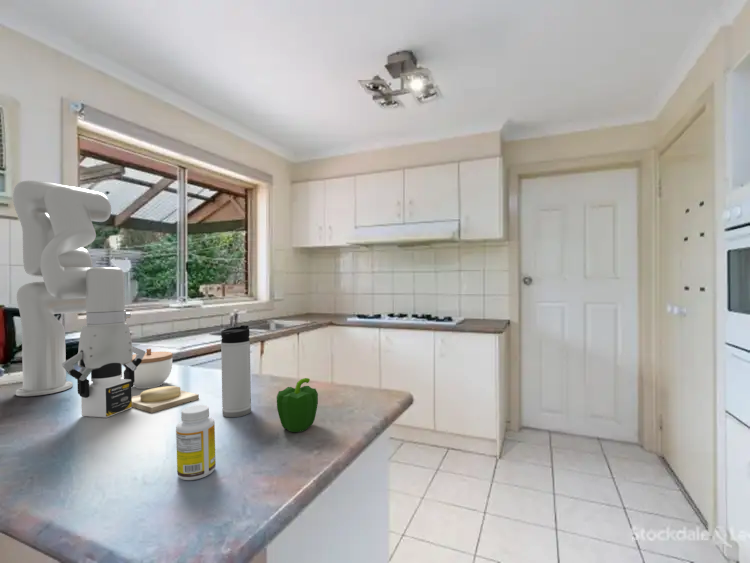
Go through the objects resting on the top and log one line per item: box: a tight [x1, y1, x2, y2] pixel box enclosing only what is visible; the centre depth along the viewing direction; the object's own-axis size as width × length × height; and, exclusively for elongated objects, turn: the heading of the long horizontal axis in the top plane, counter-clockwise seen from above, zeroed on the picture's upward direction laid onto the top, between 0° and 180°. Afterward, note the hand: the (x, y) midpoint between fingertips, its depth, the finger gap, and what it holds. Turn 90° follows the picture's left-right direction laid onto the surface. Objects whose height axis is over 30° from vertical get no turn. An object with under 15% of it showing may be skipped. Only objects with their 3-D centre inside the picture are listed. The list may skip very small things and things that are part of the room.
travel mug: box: [220, 324, 252, 418], centre depth 89 cm, size 6×7×20 cm
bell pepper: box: [276, 377, 319, 433], centre depth 79 cm, size 8×8×10 cm
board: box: [132, 385, 200, 414], centre depth 99 cm, size 14×12×3 cm
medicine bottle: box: [80, 363, 133, 419], centre depth 91 cm, size 7×7×12 cm
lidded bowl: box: [124, 348, 174, 390], centre depth 115 cm, size 13×13×11 cm
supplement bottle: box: [175, 404, 217, 481], centre depth 61 cm, size 6×6×10 cm
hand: (107, 391), depth 91 cm, fingers closed on medicine bottle, 8 cm apart
